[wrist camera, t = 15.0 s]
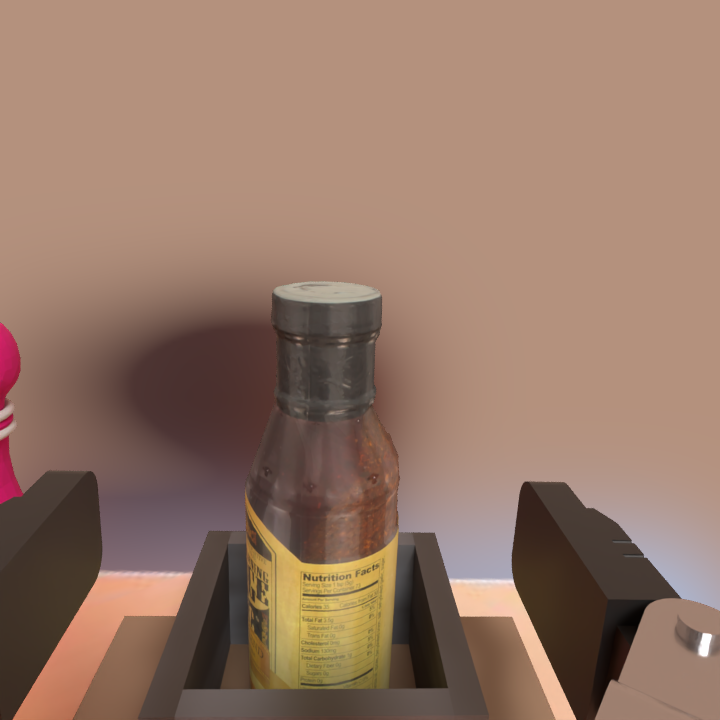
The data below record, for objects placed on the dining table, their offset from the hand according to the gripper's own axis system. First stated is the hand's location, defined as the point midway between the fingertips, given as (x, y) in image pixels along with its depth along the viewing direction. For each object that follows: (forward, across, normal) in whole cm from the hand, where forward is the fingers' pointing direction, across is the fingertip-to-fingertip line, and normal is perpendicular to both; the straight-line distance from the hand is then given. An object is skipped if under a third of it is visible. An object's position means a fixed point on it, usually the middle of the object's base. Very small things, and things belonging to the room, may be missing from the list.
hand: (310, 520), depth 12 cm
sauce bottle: (+12, 0, +18) cm, 21 cm away
